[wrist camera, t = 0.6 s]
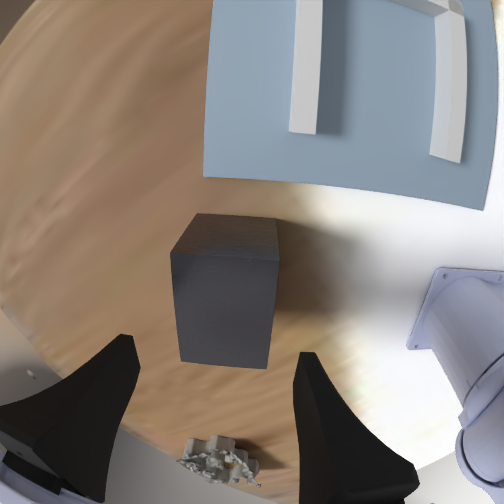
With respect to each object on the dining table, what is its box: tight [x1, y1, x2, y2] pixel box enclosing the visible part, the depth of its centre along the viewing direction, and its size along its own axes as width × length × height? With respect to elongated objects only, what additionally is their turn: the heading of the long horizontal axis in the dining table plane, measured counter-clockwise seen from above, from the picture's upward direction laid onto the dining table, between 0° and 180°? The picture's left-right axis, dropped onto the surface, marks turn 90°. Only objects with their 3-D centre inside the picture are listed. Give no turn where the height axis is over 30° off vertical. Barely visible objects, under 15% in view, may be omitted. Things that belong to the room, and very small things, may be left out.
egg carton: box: [176, 435, 261, 487], centre depth 30 cm, size 11×8×4 cm
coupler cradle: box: [203, 0, 498, 211], centre depth 13 cm, size 20×18×2 cm
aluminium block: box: [170, 213, 280, 369], centre depth 18 cm, size 5×7×6 cm
